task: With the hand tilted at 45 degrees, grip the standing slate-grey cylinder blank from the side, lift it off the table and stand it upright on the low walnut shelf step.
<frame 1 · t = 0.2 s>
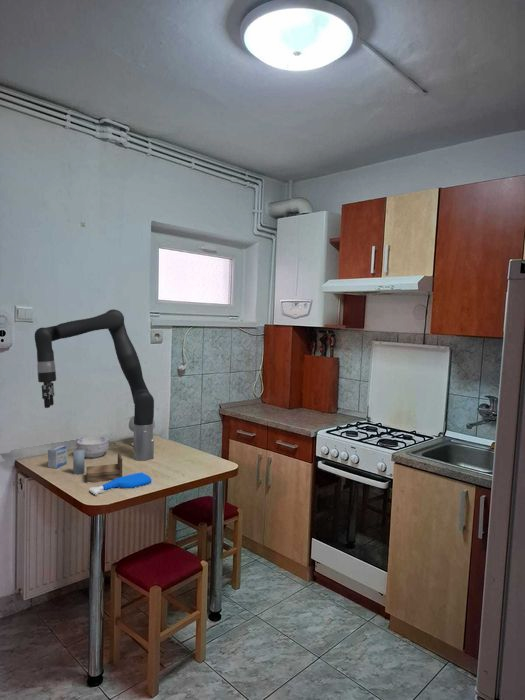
hand: (49, 406, 217), 28 cm above the table, tool pointing down, fingers open, 8 cm apart
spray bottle: (120, 488, 195), on the table
paper bowls: (92, 455, 238), on the table
shelf step: (104, 477, 205), on the table
blank: (78, 472, 211), on the table
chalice: (141, 444, 260), on the table
medicine box: (57, 466, 220), on the table
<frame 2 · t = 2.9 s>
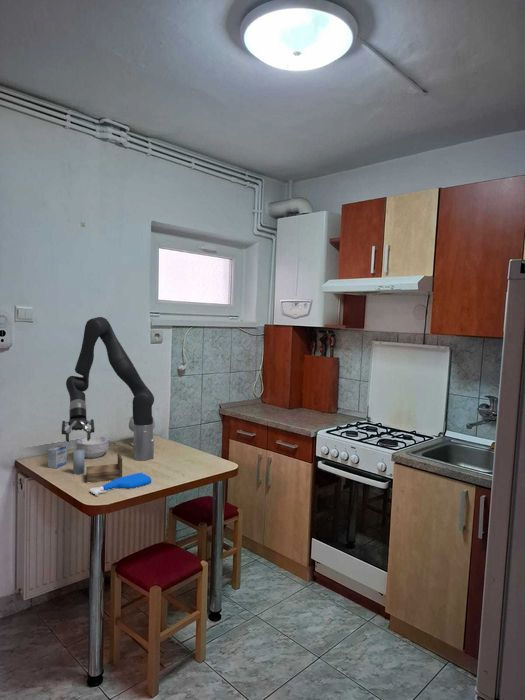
hand: (78, 440, 218), 13 cm above the table, tool tilted 45°, fingers open, 8 cm apart
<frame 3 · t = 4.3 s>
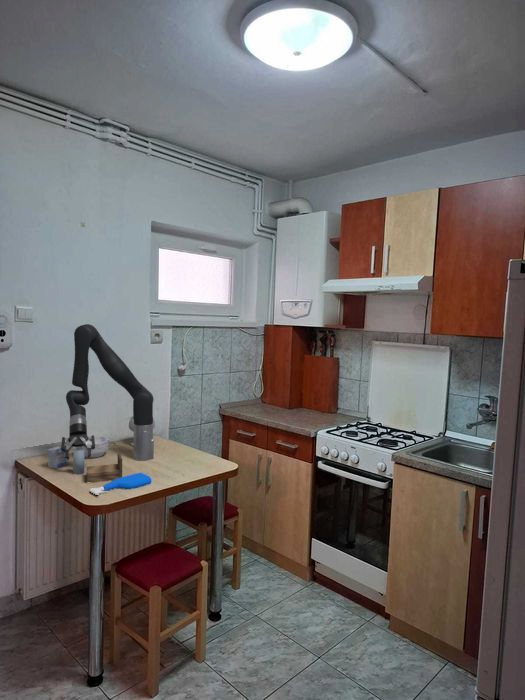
hand: (78, 457, 211), 7 cm above the table, tool tilted 45°, fingers open, 8 cm apart
nothing on the table moved.
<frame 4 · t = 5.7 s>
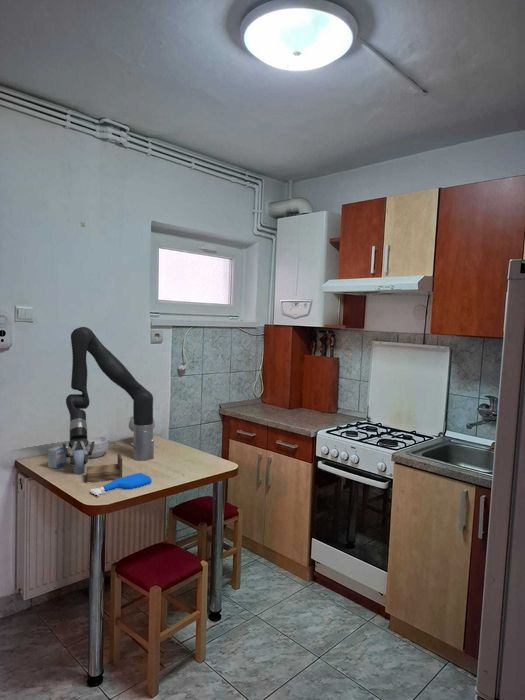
hand: (79, 463, 209), 5 cm above the table, tool tilted 45°, fingers closed on blank, 4 cm apart
blank: (79, 472, 211), on the table, touching gripper
everything else where it was.
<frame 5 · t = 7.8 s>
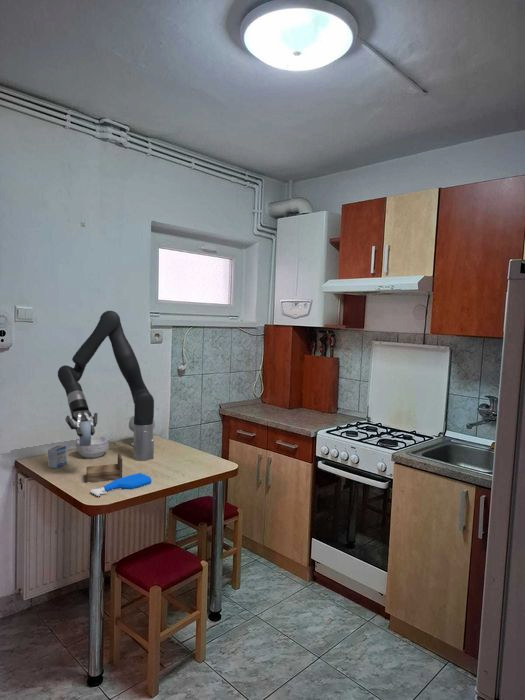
hand: (86, 435, 205), 18 cm above the table, tool tilted 45°, fingers closed on blank, 4 cm apart
blank: (85, 444, 207), point 14 cm above the table, touching gripper
when the fingers open (10 cm above the table, at t = 10.2 s): blank drops 1 cm, resting on shelf step.
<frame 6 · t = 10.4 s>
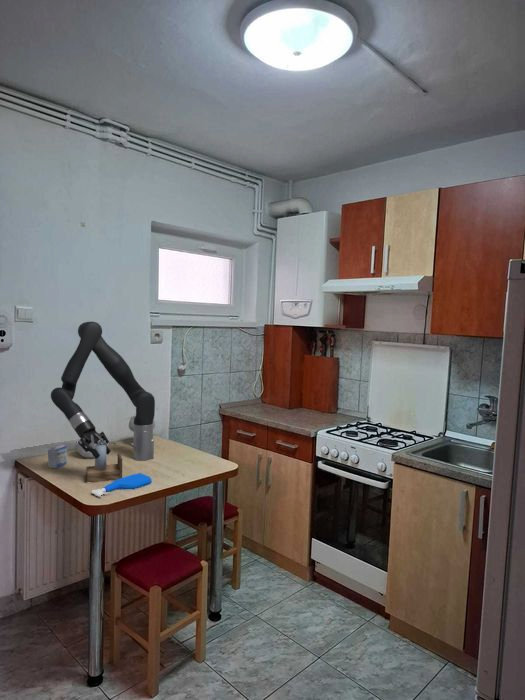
hand: (103, 455, 204), 10 cm above the table, tool tilted 45°, fingers open, 6 cm apart
blank: (100, 468, 205), point 4 cm above the table, touching shelf step
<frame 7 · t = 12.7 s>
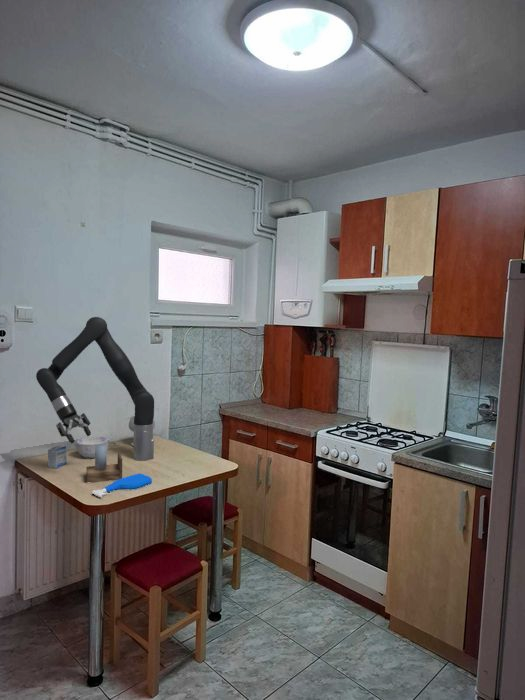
hand: (81, 438, 212), 15 cm above the table, tool tilted 35°, fingers open, 8 cm apart
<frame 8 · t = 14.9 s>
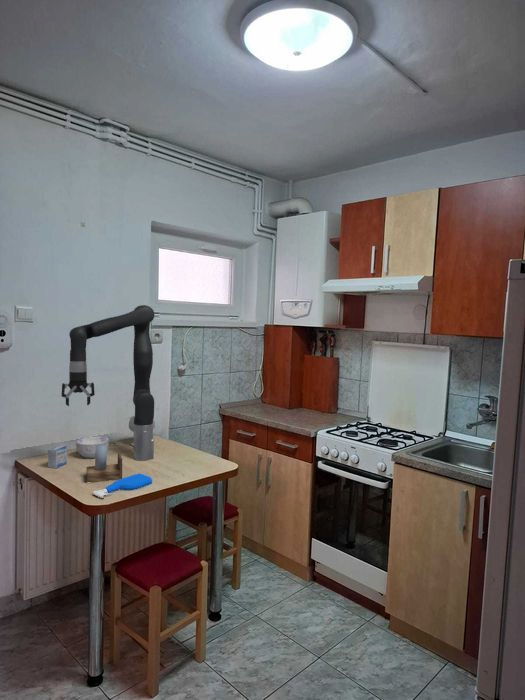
hand: (78, 405, 220), 28 cm above the table, tool pointing down, fingers open, 8 cm apart
at the end: blank inside the target area on the shelf step (0.5 cm from its centre), point 4.1 cm above the shelf step's base; blank tilted 2°; the gripper is holding nothing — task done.
